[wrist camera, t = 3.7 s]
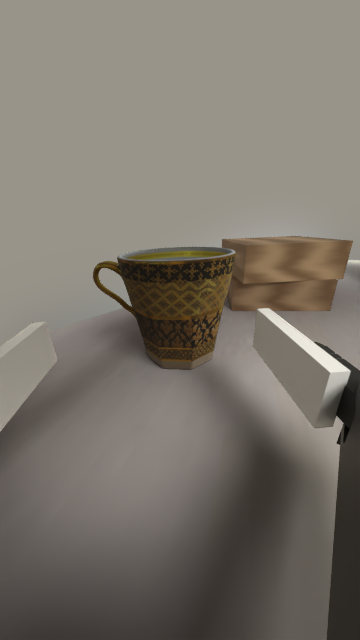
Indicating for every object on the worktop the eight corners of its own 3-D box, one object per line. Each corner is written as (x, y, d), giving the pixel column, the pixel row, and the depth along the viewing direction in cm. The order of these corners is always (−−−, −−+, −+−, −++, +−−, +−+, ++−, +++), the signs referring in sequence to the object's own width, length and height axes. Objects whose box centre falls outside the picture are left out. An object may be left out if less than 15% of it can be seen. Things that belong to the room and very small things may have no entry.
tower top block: (291, 263, 43) (295, 236, 41) (342, 278, 30) (352, 240, 28) (221, 266, 43) (222, 239, 41) (243, 283, 30) (246, 245, 28)
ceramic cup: (225, 331, 27) (229, 245, 23) (235, 386, 18) (245, 258, 14) (124, 329, 28) (111, 249, 24) (84, 379, 19) (54, 263, 15)
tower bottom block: (293, 288, 44) (297, 263, 43) (329, 314, 32) (337, 280, 30) (224, 289, 46) (225, 265, 44) (231, 313, 33) (233, 281, 31)
